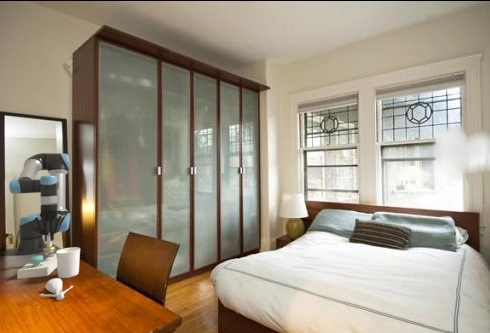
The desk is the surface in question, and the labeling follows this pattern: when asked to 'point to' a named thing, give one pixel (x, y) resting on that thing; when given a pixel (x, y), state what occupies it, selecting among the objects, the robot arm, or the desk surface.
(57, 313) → the desk surface
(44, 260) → the knob mid
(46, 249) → the knob
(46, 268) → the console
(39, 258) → the knob
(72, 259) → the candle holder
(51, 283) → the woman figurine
